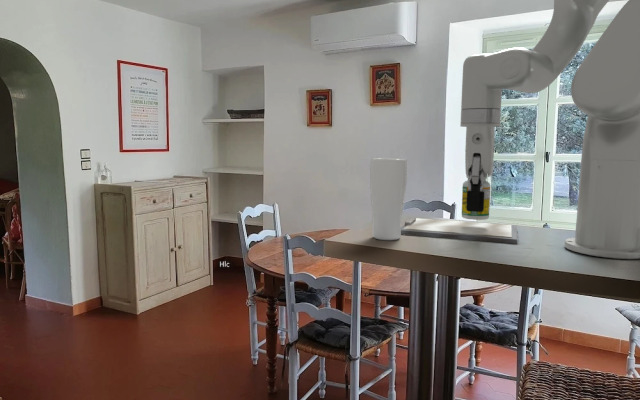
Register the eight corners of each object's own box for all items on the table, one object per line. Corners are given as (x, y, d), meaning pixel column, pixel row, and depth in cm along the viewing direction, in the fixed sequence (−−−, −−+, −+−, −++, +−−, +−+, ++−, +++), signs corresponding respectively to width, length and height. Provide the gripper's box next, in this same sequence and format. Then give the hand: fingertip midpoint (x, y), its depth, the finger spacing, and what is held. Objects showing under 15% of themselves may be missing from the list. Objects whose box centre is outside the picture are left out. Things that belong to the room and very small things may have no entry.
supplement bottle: (494, 219, 97) (497, 171, 96) (475, 220, 94) (477, 172, 93) (474, 215, 101) (476, 170, 100) (455, 217, 99) (457, 170, 98)
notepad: (516, 229, 102) (516, 221, 101) (517, 243, 87) (517, 235, 87) (412, 221, 110) (412, 214, 109) (397, 233, 95) (397, 225, 95)
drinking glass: (393, 243, 86) (396, 159, 84) (361, 238, 90) (363, 158, 88) (410, 237, 91) (413, 159, 89) (380, 233, 95) (382, 157, 94)
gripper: (499, 116, 86) (494, 216, 88) (501, 121, 102) (496, 205, 104) (456, 117, 89) (452, 214, 91) (464, 121, 105) (460, 203, 107)
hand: (475, 208), depth 97 cm, fingers closed on supplement bottle, 5 cm apart
